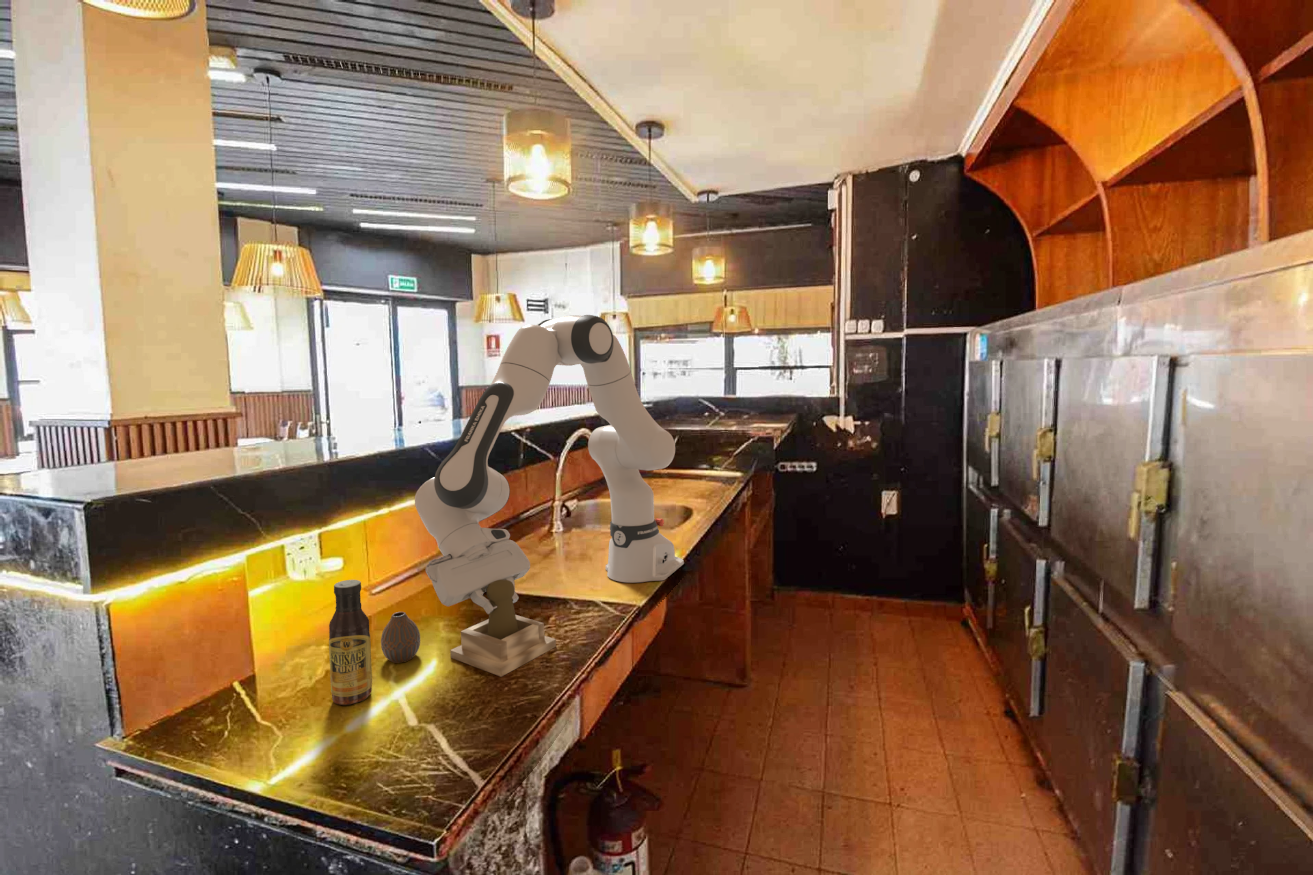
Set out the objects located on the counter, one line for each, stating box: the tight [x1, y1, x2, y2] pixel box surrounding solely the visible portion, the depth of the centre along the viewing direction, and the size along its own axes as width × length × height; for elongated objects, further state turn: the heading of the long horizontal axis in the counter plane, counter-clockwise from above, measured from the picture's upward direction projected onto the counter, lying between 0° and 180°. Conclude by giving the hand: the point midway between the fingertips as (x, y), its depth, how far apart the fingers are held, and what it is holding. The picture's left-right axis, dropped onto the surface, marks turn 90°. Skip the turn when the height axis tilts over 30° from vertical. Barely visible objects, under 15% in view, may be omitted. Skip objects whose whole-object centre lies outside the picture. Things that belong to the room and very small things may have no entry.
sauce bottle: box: [328, 579, 373, 706], centre depth 104 cm, size 6×6×20 cm
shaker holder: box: [449, 614, 557, 678], centre depth 120 cm, size 14×14×5 cm
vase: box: [380, 611, 421, 664], centre depth 119 cm, size 7×7×9 cm
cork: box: [486, 580, 518, 640], centre depth 120 cm, size 6×6×11 cm
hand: (504, 606), depth 119 cm, fingers closed on cork, 4 cm apart
